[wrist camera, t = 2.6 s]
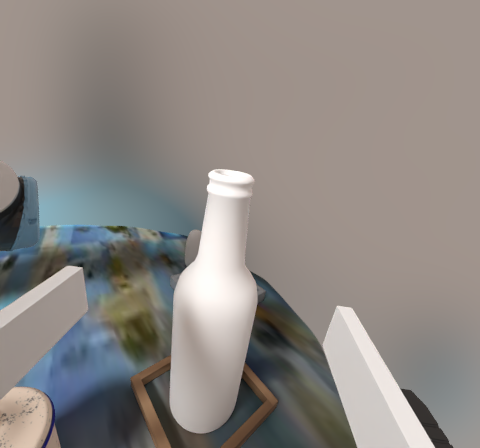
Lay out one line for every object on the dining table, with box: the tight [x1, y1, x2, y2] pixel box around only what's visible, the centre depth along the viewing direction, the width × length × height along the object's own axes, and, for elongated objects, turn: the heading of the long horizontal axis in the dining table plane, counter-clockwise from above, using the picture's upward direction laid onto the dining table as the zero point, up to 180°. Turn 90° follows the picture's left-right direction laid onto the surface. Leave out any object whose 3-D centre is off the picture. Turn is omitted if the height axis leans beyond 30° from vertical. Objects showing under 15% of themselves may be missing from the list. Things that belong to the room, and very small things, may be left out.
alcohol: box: [170, 169, 258, 433], centre depth 24 cm, size 9×9×30 cm
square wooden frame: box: [131, 355, 278, 448], centre depth 30 cm, size 14×14×2 cm
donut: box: [185, 230, 202, 267], centre depth 56 cm, size 10×4×10 cm, turn 0°
